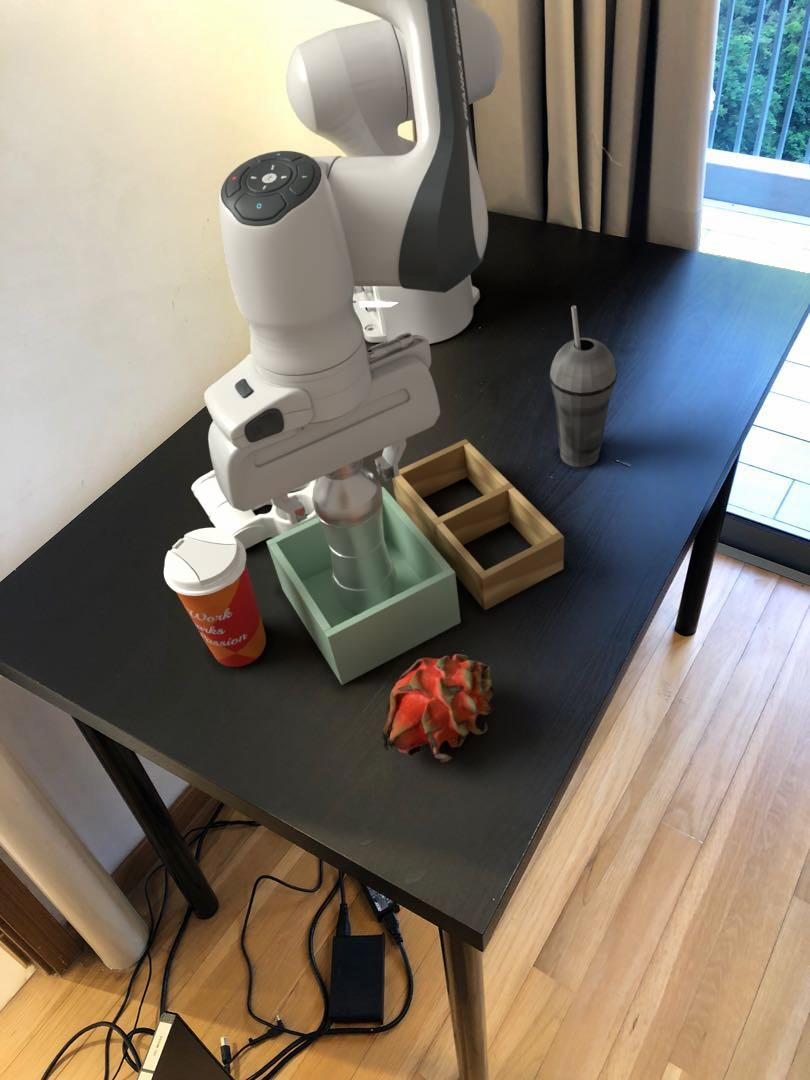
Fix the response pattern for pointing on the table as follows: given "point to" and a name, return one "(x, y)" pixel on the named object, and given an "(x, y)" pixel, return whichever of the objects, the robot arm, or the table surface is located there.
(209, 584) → the paper cup
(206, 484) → the knuckle duster
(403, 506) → the rack
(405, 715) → the dragon fruit
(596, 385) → the beverage cup
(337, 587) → the silver metal bottle
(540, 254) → the table surface
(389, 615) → the open storage box
